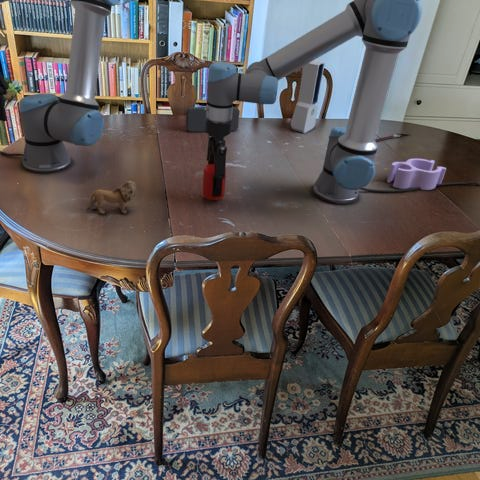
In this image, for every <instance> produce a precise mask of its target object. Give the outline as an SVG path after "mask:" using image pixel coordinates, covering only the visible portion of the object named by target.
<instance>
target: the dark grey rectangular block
mask: <svg viewBox="0 0 480 480" xmlns="http://www.w3.org/2000/svg"><path fill="white" fill-rule="evenodd" d="M205 108H207V106H190V107H187V109H186V110H185V111H186V114H185V118H186V119H185V129H186V130H187V131H188V132H191V133H192V132H193V133H196V132H197V133H199V132H200V133H201V132H206V131H205V124H206V119H207V118H206V111H205ZM240 113H241V111H240V109H239V108H238V107H237V106H233V113H232V119H231V122H232V123H231V132H232V131H233V132H234V131H237V130H238V129H239V124H240V123H239V121H240V119H239V118H240Z"/></svg>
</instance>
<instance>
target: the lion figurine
mask: <svg viewBox="0 0 480 480" xmlns="http://www.w3.org/2000/svg"><path fill="white" fill-rule="evenodd" d="M136 194H137V185H136V182H134V181H132V180H127V181H124V182H123V184H121V185H120V186H119V187H118V188H116V189H115V190H107V189H100V188H99V189H96V190H94V191H93V192H92V193H91V196H90V200H89V201H90V202H89V206H88V207H87V208H86V209H85V212H89V211H90V209H92V210H96V209H97V210H98V211H99V213H100V214H102V215H104V214H106V211H105V210H103V209H102V207H103V203H104V201H105V202H107V203H109V204H118V207H119V209H120V211H121V213H123V214H126V213H127V210H126V209H125V207H126V203H130V202H131V201H132V199H133V198H134V197H135V195H136ZM95 204H97V206H96V205H95Z"/></svg>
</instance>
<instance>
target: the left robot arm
mask: <svg viewBox="0 0 480 480" xmlns="http://www.w3.org/2000/svg"><path fill="white" fill-rule="evenodd" d="M9 1H11V0H0V4H2V3H5V2H9ZM120 1H121V0H70V4H71V6H72V7H73V9H74V17H73V24H72V25H73V26H72V32H71V33H72V35H71V41H70V43H71V44H70V53H69V61H68V69H67V79H66V88H65V93H63V94H62V95H60V96H59V98H58V96H57V95H56V94H55V93H35V94H30V95H26V96H24V97H22V98H21V99H20V100H19V103H18V105H19V116H20V122H21V127H22V132H23V136H24V148H23V153H7V152H3V151H2V150H0V155H3V156H6V157H22V158H21V159H22V160H21V161H22V166H23V168H24V169H25V170H27V171H29V172H33V173H39V174H46V173H56V172H61V171H63V170H66V169H67V168H69V167H70V166H71V163H72V159H71V155H70V153H69V151H68V150H67V149H68V148H67V147H66V145H65V143H69V144H72V145H75V146H80V147H91V146H93V145H94V144H96V143H97V142H98V141H99V140H100V138H101V137H102V135H103V132H104V128H105V119H104V115H103V113H101V112H100V111H99V107H100V105H99V103H98V101H97V100H96V90H97V83H98V82H97V81H98V74H99V68H100V67H99V66H100V59H101V51H102V43H103V35H104V28H105V20H106V18H107V17H108V16H110V15H111V14H112V7H115V6H117V5H118V4H119V3H120ZM9 90H10V86H9V84H8V82H7V81H6V79H5V77H4V76H3V74H2V72H1V71H0V122H7V121H8V118H7V112H6V100H5V96H7V94H8V91H9ZM64 142H65V143H64Z"/></svg>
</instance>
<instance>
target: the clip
mask: <svg viewBox="0 0 480 480" xmlns="http://www.w3.org/2000/svg"><path fill="white" fill-rule="evenodd" d="M435 162H436V160H433V159H431V160H429V159H424V158H414V157H413V158H409V159H407V160H406V161H393V162H392V163H391V166H390V170H389V172H388V176H387V179H386V183H388V184H391V183H392V182H393V184H392V188H396V189H398V190H402V189H410V188H416V187H421V189H420V190H421V191H422V190H423V191H430V190H434V189H435V188H436V187H437V186H436V184H441V183H443V180H444V176H445V174H446V171H447V167H445V166H440V165H439V166H436V168H435V170H433V168H434V164H435Z"/></svg>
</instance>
